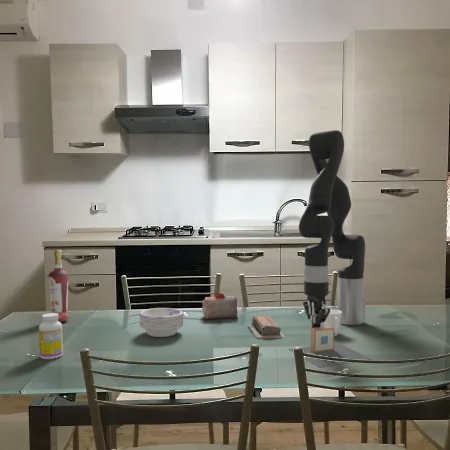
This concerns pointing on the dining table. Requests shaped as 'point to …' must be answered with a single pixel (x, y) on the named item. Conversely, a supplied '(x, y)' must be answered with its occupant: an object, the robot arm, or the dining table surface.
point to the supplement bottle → (50, 337)
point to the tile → (322, 339)
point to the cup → (334, 320)
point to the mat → (334, 355)
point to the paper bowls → (161, 321)
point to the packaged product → (265, 328)
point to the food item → (220, 307)
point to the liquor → (59, 289)
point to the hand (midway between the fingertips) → (316, 334)
